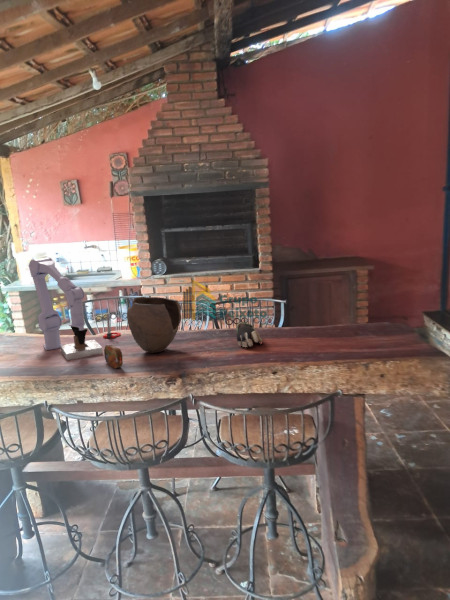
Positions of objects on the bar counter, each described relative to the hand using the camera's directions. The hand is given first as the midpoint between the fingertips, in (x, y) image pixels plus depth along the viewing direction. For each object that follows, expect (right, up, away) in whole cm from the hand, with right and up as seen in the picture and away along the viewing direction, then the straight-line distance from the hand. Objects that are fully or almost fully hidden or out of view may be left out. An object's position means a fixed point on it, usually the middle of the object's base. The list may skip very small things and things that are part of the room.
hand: (80, 342), depth 211 cm
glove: (+79, -1, +5) cm, 79 cm away
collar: (0, -5, +1) cm, 5 cm away
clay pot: (+37, -4, -3) cm, 37 cm away
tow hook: (+8, 0, +28) cm, 29 cm away
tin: (+21, -8, -19) cm, 30 cm away
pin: (0, -5, +1) cm, 5 cm away
